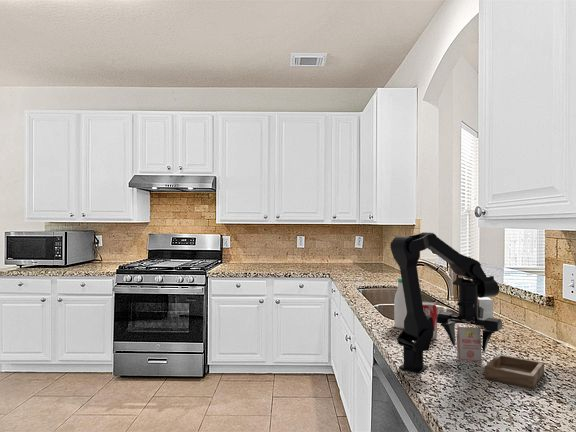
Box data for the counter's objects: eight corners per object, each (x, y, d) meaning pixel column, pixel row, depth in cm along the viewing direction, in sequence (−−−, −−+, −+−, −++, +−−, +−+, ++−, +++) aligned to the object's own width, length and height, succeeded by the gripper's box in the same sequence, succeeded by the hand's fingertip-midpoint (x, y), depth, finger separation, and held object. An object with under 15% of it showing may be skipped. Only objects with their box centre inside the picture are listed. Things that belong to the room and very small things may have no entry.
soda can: (421, 334, 167) (421, 300, 167) (440, 337, 163) (439, 302, 163) (414, 338, 162) (413, 303, 162) (433, 341, 157) (432, 305, 157)
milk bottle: (402, 330, 174) (401, 280, 174) (390, 325, 181) (390, 277, 181) (417, 327, 177) (417, 278, 177) (405, 323, 184) (405, 276, 184)
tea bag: (457, 356, 141) (456, 325, 141) (479, 358, 139) (479, 326, 139) (458, 360, 137) (458, 328, 137) (481, 361, 135) (481, 329, 135)
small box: (473, 320, 189) (473, 295, 189) (487, 320, 188) (487, 296, 188) (479, 324, 181) (479, 299, 181) (493, 324, 180) (493, 299, 181)
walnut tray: (533, 389, 113) (533, 376, 113) (484, 379, 121) (484, 366, 121) (544, 374, 123) (543, 362, 123) (498, 365, 131) (498, 354, 131)
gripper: (506, 298, 138) (507, 347, 138) (448, 292, 150) (448, 337, 150) (496, 303, 130) (497, 356, 129) (435, 297, 142) (436, 345, 142)
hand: (468, 348), depth 138 cm, fingers open, 9 cm apart
